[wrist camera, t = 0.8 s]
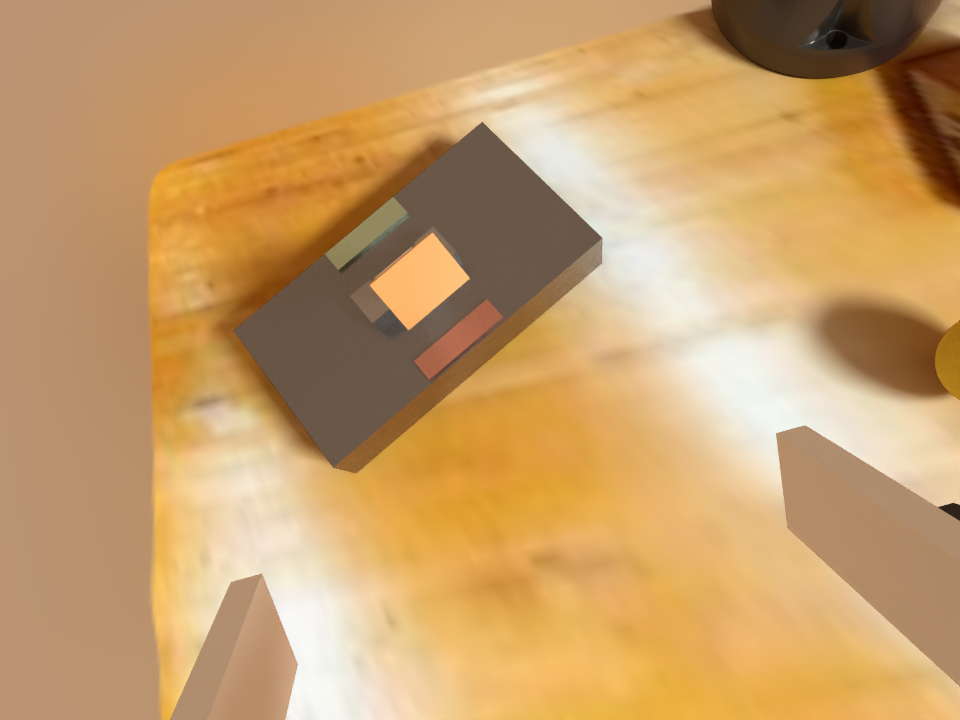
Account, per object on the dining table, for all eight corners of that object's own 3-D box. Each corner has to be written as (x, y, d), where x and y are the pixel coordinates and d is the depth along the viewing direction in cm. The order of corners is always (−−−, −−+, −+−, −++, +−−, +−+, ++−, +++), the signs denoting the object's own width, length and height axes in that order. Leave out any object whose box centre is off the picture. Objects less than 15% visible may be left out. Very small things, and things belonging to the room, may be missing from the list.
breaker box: (491, 154, 48) (477, 103, 43) (601, 263, 45) (602, 223, 39) (262, 346, 48) (216, 321, 42) (356, 473, 44) (320, 464, 38)
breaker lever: (412, 243, 42) (432, 232, 29) (438, 274, 42) (469, 278, 29) (369, 279, 42) (369, 285, 28) (396, 310, 42) (408, 330, 29)
